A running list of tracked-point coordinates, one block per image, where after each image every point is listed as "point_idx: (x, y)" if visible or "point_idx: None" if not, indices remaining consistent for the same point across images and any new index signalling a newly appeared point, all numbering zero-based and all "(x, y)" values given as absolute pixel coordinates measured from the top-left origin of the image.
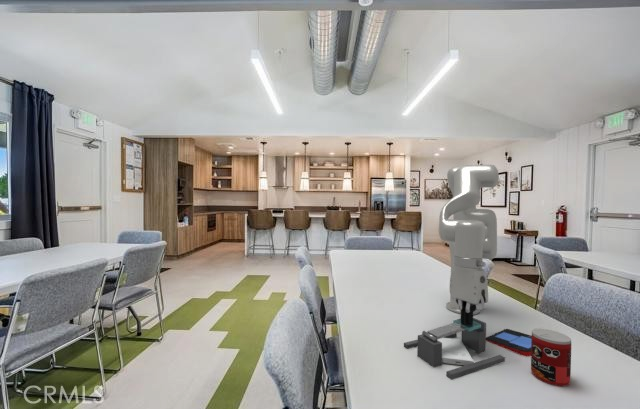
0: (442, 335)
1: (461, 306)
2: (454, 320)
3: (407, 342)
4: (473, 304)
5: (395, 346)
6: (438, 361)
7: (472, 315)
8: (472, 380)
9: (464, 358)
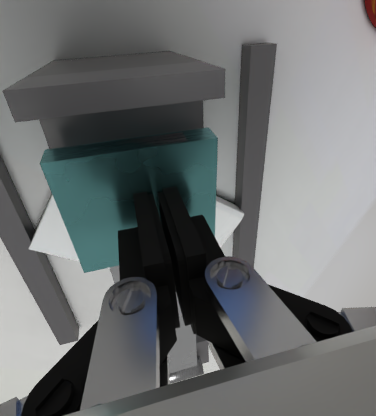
0: (195, 349)
1: (165, 379)
2: (85, 265)
3: (58, 335)
4: (271, 344)
5: (55, 349)
6: None
7: (220, 254)
8: (271, 246)
9: (219, 234)
